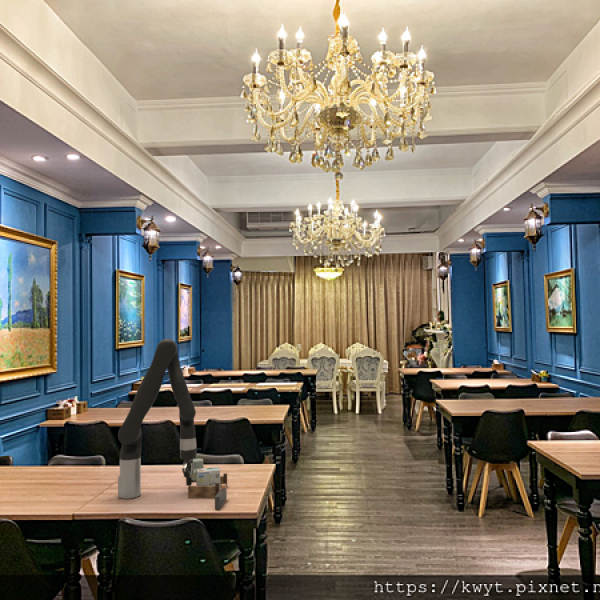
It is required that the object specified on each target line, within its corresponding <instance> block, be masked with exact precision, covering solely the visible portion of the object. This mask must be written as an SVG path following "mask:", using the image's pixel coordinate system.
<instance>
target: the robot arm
mask: <svg viewBox="0 0 600 600" xmlns="http://www.w3.org/2000/svg"><path fill="white" fill-rule="evenodd" d="M178 352H179V351H178V345H177V343H176V341H174V340H173V339H171V338H164V339H162V340H160V341H159V343H157V345H156V348H155V351H154V355H153V359H152V360H151V364H150V366H149V368H148V370H147V371H146V373H145V375H144V376H143V377H142V380H141V382H140V384H139V386H138V389H137V391H136V393H135V396H134V398H133V401H132V404H131V406H130V409H129V411H128V413H127V415H126V418H125V419H124V421H123V423H122V425H121V426H120V428H119V430H118V433H117V437H118V441H119V442H120V443H121V449H120V452H119V475H118V476H117V498H121V499H125V500H129V499H135V497H136V498H139V497H140V496H142V494H141V492H142V490H141V489H142V488H141V487H142V486H141V485H142V483H141V482H142V481H141V480H142V477H141V473H142V472H141V471H142V468H141V465H142V464H141V461H142V460H141V458H142V456H141V453H142V446H143V444H142V443H143V431H142V427H141V425H142V423H143V422H144V420H145V417H146V415H147V414H148V413H149V411H150V409H151V408H152V407H153V405H154V403H155V401H156V400H157V397H158V395H159V393H160V390H161V387H162V385H163V381H164V378H165V374H166V371H167V373H168V377H169V378H168V379H169V383H170V387H171V391H172V394H173V396H174V400H175V401H176V403H177V407H178V409H179V411H178V415H179V416H178V418H179V424H180V426H179V427H180V430H179V431H180V433H179V435H180V436H179V437H180V439H179V459H181V460H183V463H182V464H183V467H182V469H181V470H182V471H181V472H182V474H183V477H184V478H185V484H186V487H188V486H193V485H192V484H193V481H192V474H193V472H194V465H195V462H194V461H193V459H197V455H198V454H197V438H196V437H197V436H196V426H195V417H196V408H195V405H194V402H193V400H192V398H191V395H190V391H189V387H188V385H187V382H186V379H185V376H184V374H183V371H182V367H181V364H180V360H179V354H178ZM138 496H139V497H138Z"/></svg>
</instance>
